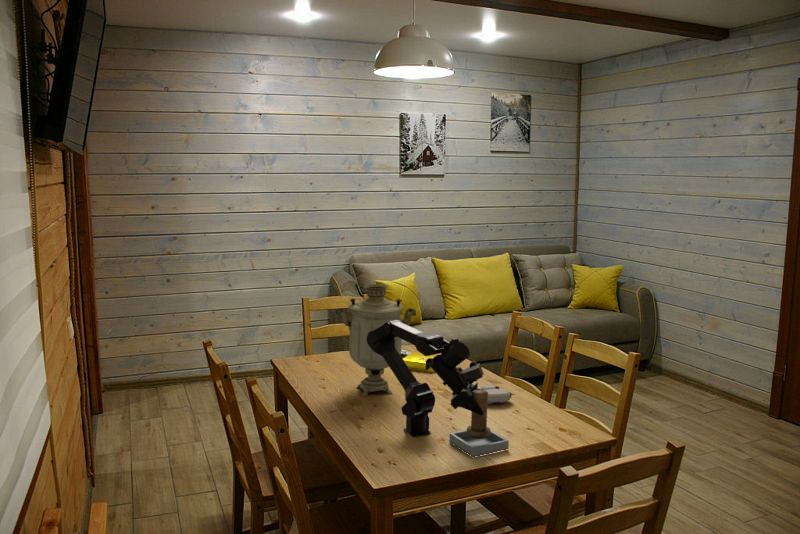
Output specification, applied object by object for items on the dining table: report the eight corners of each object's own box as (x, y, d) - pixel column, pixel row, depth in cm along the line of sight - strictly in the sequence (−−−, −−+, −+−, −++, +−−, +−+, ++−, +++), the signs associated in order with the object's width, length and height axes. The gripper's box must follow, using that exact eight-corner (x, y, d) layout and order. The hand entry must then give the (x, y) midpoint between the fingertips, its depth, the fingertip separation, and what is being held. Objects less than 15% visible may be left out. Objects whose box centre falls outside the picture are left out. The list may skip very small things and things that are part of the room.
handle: (475, 440, 195) (477, 397, 193) (462, 431, 201) (463, 390, 200) (494, 436, 199) (496, 394, 197) (481, 428, 205) (482, 387, 203)
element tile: (445, 364, 288) (445, 353, 288) (433, 374, 275) (433, 362, 274) (413, 360, 294) (413, 350, 293) (400, 369, 280) (400, 358, 280)
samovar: (418, 379, 265) (419, 280, 260) (412, 401, 240) (414, 291, 234) (344, 376, 268) (344, 278, 263) (331, 397, 242) (330, 289, 237)
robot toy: (468, 397, 248) (484, 407, 234) (468, 384, 248) (484, 394, 234) (499, 394, 252) (516, 404, 237) (499, 382, 251) (516, 392, 237)
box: (473, 458, 192) (473, 448, 192) (449, 442, 203) (449, 433, 203) (508, 450, 198) (508, 440, 197) (483, 435, 209) (483, 426, 208)
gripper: (463, 364, 189) (501, 405, 188) (472, 347, 206) (506, 385, 205) (435, 388, 191) (472, 429, 190) (446, 370, 209) (480, 407, 208)
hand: (483, 411), depth 199 cm, fingers closed on handle, 5 cm apart
